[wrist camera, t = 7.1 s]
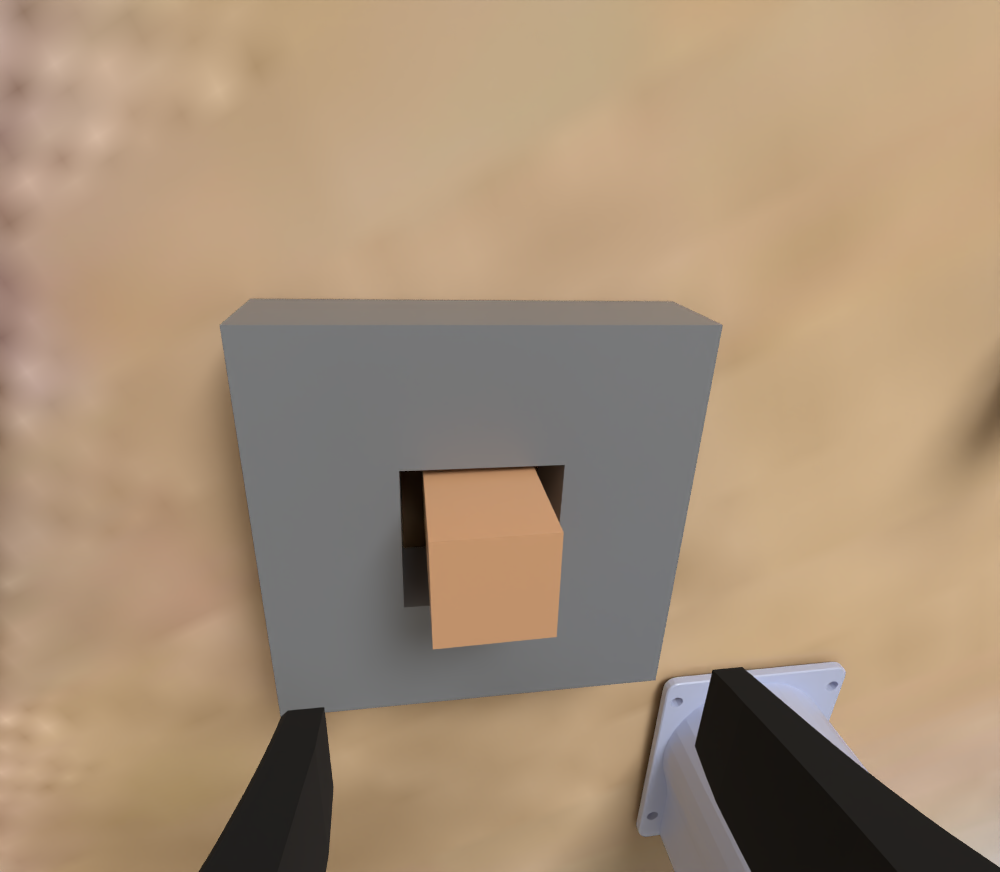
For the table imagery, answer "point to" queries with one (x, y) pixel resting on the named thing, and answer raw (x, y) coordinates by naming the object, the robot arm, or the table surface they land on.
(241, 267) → the table surface
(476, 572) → the plug peg
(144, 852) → the table surface
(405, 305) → the socket block
